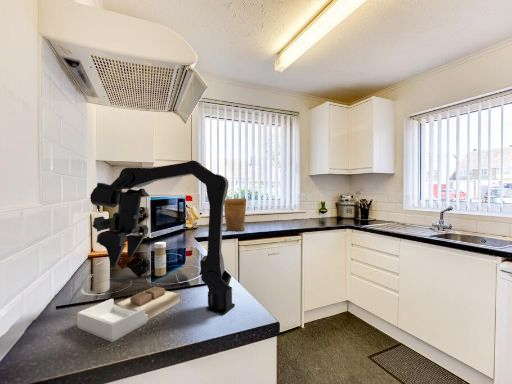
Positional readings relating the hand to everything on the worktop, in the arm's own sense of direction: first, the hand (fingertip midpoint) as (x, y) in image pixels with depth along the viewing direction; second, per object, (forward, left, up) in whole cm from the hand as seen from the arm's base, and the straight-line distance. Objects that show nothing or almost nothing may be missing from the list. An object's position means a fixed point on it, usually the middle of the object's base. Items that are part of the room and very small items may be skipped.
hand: (121, 261), depth 75 cm
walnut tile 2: (-6, -6, -12) cm, 15 cm away
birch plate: (-6, -4, -14) cm, 16 cm away
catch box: (-6, +7, -14) cm, 17 cm away
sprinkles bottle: (+14, -27, -14) cm, 33 cm away
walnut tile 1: (-6, -1, -12) cm, 13 cm away
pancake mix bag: (+43, -135, -14) cm, 142 cm away
